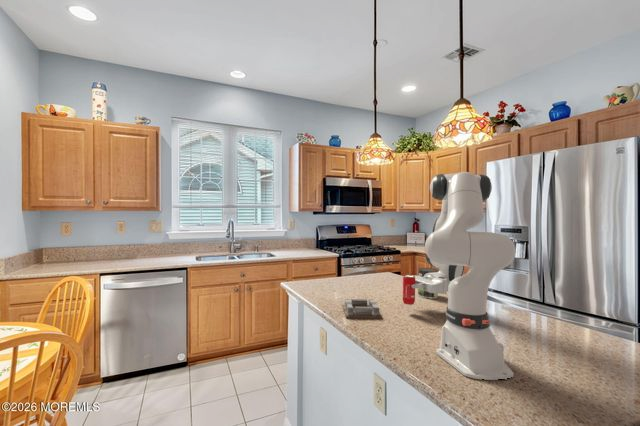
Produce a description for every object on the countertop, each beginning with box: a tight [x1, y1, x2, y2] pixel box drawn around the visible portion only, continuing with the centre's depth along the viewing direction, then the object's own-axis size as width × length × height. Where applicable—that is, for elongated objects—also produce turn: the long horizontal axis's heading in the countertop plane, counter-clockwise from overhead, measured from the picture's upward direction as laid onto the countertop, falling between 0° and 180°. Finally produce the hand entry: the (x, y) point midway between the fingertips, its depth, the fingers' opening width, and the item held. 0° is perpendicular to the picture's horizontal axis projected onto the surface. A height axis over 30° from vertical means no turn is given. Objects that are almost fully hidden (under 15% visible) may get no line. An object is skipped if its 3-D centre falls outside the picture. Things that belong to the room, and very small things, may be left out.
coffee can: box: [417, 267, 439, 300], centre depth 165 cm, size 10×10×14 cm
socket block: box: [341, 298, 383, 320], centre depth 137 cm, size 15×15×4 cm
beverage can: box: [402, 274, 416, 306], centre depth 137 cm, size 5×5×12 cm
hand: (408, 284), depth 136 cm, fingers closed on beverage can, 4 cm apart
